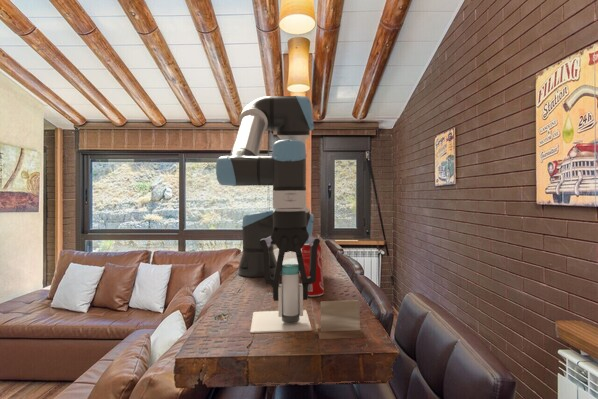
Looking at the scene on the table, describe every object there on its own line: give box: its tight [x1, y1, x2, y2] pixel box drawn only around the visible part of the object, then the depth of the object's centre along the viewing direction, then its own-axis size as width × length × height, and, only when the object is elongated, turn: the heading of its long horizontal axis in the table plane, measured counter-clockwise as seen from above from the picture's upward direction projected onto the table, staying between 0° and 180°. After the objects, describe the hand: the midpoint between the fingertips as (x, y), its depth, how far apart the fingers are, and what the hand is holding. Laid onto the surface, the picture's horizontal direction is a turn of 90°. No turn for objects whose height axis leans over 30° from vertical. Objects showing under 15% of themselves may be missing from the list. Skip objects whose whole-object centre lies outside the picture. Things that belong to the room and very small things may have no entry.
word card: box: [317, 299, 365, 340], centre depth 67 cm, size 3×9×7 cm, turn 95°
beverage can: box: [301, 243, 325, 297], centre depth 96 cm, size 6×6×15 cm
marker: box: [280, 263, 300, 323], centre depth 74 cm, size 4×4×12 cm
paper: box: [250, 309, 313, 334], centre depth 75 cm, size 12×13×1 cm
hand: (290, 314), depth 74 cm, fingers closed on marker, 4 cm apart
